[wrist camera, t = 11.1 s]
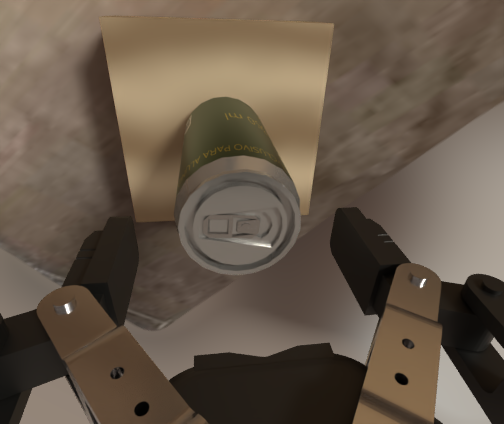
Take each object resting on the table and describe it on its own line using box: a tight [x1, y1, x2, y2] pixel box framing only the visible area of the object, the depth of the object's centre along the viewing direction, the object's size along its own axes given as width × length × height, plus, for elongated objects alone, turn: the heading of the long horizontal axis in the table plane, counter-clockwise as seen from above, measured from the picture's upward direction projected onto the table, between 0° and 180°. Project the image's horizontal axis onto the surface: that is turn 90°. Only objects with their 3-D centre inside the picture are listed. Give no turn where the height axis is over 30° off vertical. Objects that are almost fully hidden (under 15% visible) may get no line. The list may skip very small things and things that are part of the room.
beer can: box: [174, 97, 301, 275], centre depth 18 cm, size 5×5×12 cm
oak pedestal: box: [99, 16, 334, 222], centre depth 25 cm, size 14×14×4 cm
